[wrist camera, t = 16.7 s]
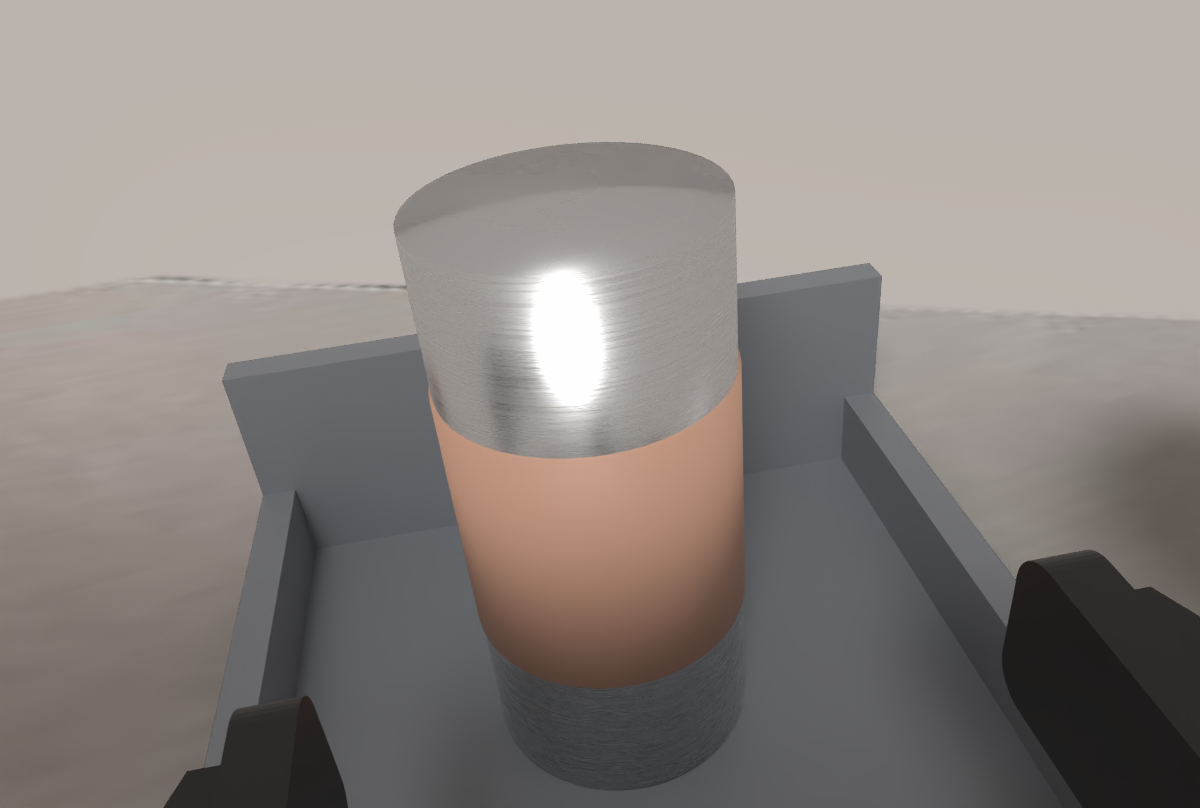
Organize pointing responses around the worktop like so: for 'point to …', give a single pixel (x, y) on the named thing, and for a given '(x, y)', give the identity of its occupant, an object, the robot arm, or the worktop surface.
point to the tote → (770, 606)
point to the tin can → (592, 443)
